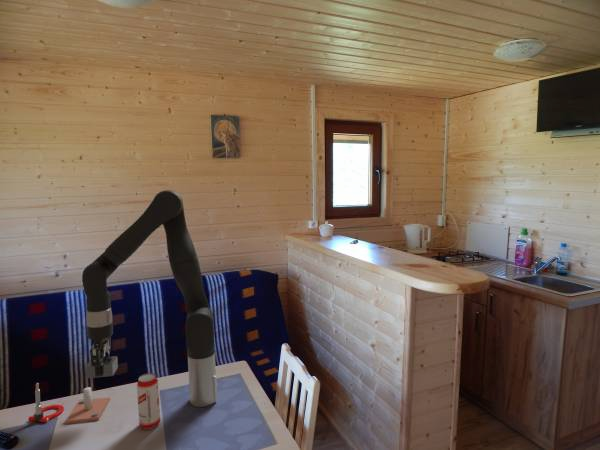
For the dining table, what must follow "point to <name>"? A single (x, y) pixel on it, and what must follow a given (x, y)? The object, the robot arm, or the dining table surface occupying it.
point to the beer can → (148, 401)
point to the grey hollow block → (108, 367)
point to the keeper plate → (87, 414)
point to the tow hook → (44, 409)
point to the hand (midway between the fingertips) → (102, 370)
